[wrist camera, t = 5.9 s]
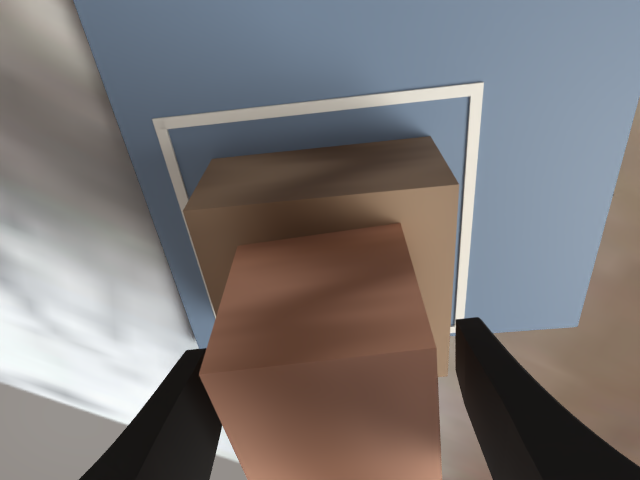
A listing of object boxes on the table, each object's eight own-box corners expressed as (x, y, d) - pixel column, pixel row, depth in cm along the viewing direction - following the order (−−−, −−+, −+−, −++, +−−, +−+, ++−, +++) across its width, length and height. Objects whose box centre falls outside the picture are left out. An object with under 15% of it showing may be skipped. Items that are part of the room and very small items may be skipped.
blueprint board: (673, -98, 13) (695, -102, 12) (569, 315, 21) (578, 328, 21) (79, -19, 14) (65, -17, 13) (204, 342, 23) (200, 356, 22)
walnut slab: (430, 136, 16) (459, 184, 12) (426, 306, 20) (447, 376, 17) (211, 158, 16) (182, 211, 13) (253, 319, 21) (239, 390, 17)
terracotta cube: (400, 222, 13) (436, 347, 9) (410, 342, 16) (442, 482, 12) (237, 245, 14) (198, 374, 9) (273, 358, 16) (256, 497, 12)
